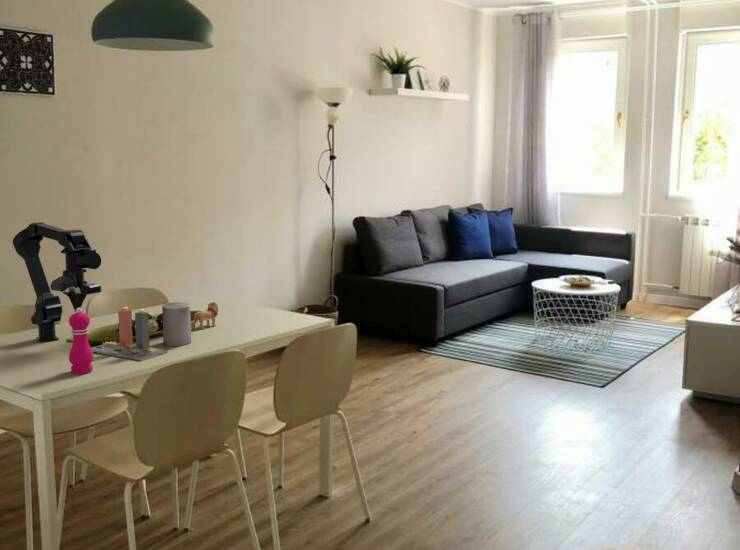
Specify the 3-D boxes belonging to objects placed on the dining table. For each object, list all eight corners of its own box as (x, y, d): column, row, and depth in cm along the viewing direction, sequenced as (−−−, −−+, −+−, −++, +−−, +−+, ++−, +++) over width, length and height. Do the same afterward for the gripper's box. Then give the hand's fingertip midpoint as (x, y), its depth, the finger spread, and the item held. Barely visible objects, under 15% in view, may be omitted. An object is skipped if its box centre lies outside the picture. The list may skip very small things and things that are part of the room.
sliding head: (114, 349, 271) (112, 308, 269) (126, 346, 276) (124, 306, 274) (121, 350, 270) (119, 309, 267) (133, 347, 274) (131, 307, 272)
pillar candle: (163, 340, 290) (162, 299, 287) (191, 338, 292) (190, 298, 289) (162, 347, 280) (161, 304, 278) (191, 345, 282) (190, 303, 280)
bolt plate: (88, 351, 273) (88, 345, 273) (115, 344, 283) (114, 338, 283) (141, 360, 262) (140, 354, 261) (167, 352, 272) (166, 347, 272)
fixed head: (131, 352, 268) (129, 311, 265) (142, 348, 272) (141, 308, 270) (137, 353, 266) (136, 312, 264) (149, 349, 271) (147, 309, 269)
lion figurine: (210, 323, 318) (210, 300, 317) (222, 324, 316) (221, 301, 314) (187, 330, 305) (187, 307, 303) (199, 332, 303) (199, 308, 301)
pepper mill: (64, 372, 248) (60, 308, 245) (83, 367, 254) (80, 304, 251) (80, 376, 244) (76, 311, 241) (99, 370, 250) (96, 307, 247)
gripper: (36, 267, 274) (39, 313, 277) (75, 272, 265) (77, 318, 268) (62, 263, 284) (65, 307, 286) (101, 267, 275) (103, 312, 278)
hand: (77, 311), depth 279 cm, fingers closed
